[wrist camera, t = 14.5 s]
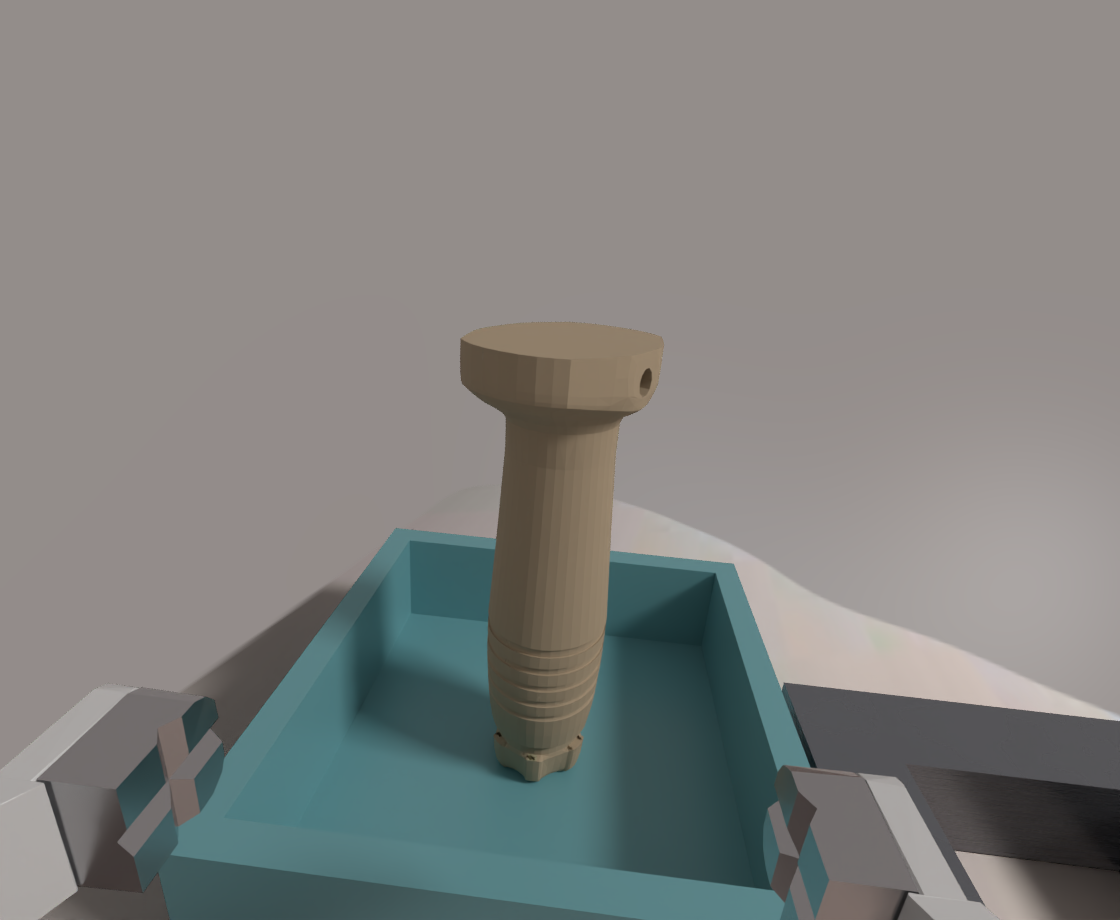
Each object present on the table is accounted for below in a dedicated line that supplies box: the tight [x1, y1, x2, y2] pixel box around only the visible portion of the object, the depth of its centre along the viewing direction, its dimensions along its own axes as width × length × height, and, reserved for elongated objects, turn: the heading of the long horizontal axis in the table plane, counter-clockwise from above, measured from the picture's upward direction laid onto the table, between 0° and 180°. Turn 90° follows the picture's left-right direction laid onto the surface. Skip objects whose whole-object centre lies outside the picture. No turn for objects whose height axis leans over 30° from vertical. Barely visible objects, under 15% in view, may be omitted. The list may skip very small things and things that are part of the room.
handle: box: [460, 322, 664, 782], centre depth 19 cm, size 5×6×15 cm
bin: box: [158, 528, 810, 920], centre depth 21 cm, size 16×16×5 cm
